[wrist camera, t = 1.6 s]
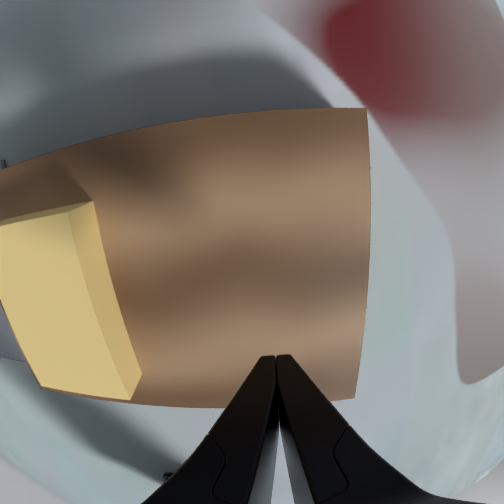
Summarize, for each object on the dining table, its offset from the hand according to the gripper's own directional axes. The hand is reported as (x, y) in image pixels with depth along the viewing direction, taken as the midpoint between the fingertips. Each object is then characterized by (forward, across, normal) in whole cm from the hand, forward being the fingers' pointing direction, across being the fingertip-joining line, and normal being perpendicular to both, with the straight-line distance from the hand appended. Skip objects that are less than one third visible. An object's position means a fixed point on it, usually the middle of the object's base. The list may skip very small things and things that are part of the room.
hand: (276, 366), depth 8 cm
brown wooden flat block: (+8, +6, 0) cm, 10 cm away
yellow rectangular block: (+4, +10, 0) cm, 11 cm away
